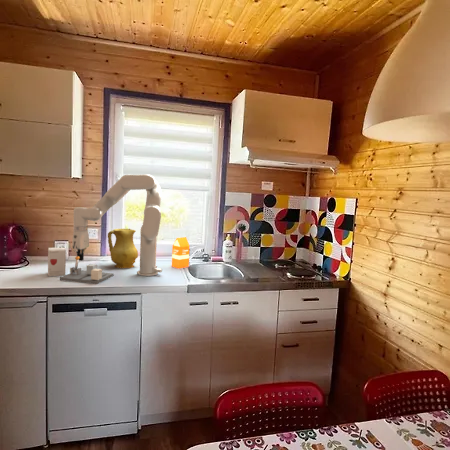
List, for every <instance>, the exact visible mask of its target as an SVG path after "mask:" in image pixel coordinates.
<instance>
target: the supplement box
mask: <svg viewBox="0 0 450 450" xmlns="http://www.w3.org/2000/svg"><path fill="white" fill-rule="evenodd" d="M47 248H48V249H47V276H48V277H59V276H60V277H62V276H65V275H67V274H66V267H67V266H66V264H67V261H66V260H67V259H66V258H67V250H66V248H65V247H47Z"/></svg>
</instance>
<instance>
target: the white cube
mask: <svg viewBox="0 0 450 450" xmlns="http://www.w3.org/2000/svg"><path fill="white" fill-rule="evenodd" d="M85 269H86V270H85V271H86V274H90V275H91V270H93V269H98V264H96V263H95V264H93V263H92V264H91V263H90V264H86V268H85Z"/></svg>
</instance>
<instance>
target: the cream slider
mask: <svg viewBox="0 0 450 450" xmlns="http://www.w3.org/2000/svg"><path fill="white" fill-rule="evenodd" d="M102 272H103V269H102V268H97V269H93V270H91V279H93V280H99V279H101V278H102Z"/></svg>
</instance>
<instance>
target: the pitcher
mask: <svg viewBox="0 0 450 450" xmlns="http://www.w3.org/2000/svg"><path fill="white" fill-rule="evenodd" d="M135 233H136V230H135V229H131V228H114V229H111V230H110V231H109V232H108V233H107V238H108V239H107V242H108V247H109V249H108V250H109V252H110V260H111V262H112V263H114V264H115V265H114V268H116V269H130V268H134V267H135V264H134V263H136V260H137V258H138V257H139V252H138V249H137V247H136V246H135V243H134V234H135ZM112 235H114V236H115V242H114V244H113V241H112V240H113V239H112Z"/></svg>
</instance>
